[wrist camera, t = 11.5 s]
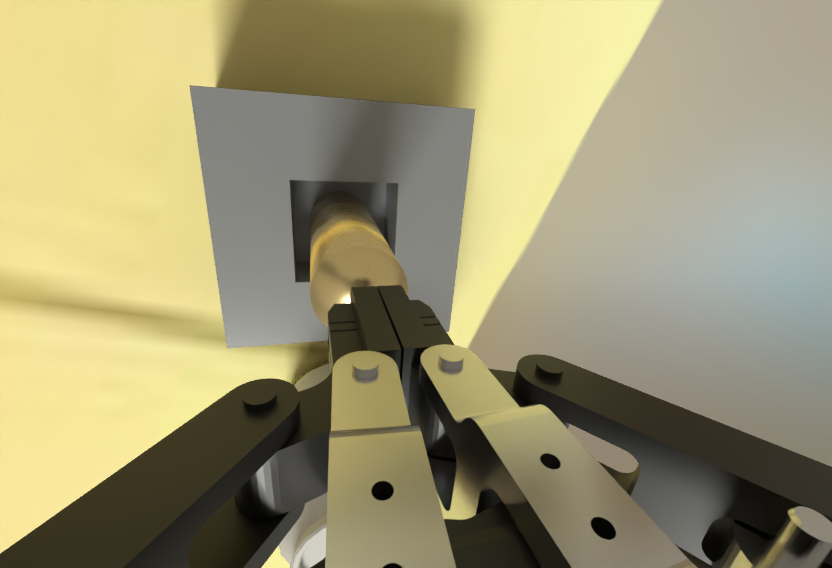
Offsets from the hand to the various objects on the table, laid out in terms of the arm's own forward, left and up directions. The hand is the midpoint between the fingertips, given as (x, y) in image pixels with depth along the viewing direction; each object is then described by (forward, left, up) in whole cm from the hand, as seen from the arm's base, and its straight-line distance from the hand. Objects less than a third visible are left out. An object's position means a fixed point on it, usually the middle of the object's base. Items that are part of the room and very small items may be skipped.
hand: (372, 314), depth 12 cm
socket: (0, 0, -13) cm, 13 cm away
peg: (0, 0, -11) cm, 11 cm away
